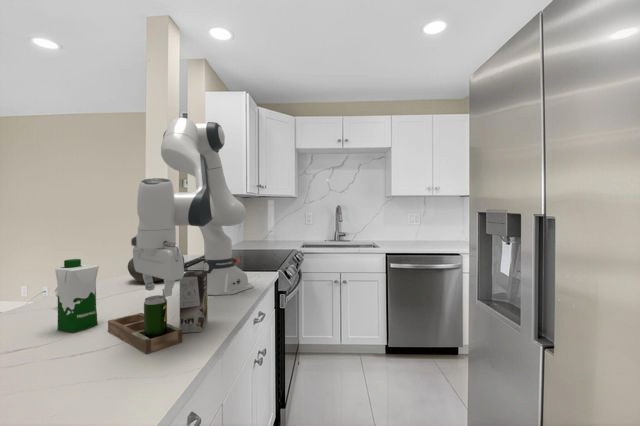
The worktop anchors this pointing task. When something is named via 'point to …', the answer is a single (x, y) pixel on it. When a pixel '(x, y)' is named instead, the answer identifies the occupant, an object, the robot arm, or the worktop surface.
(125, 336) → the wooden compartment rack
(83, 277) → the milk carton
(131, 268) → the gourd
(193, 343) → the worktop surface
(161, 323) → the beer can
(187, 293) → the coffee box
